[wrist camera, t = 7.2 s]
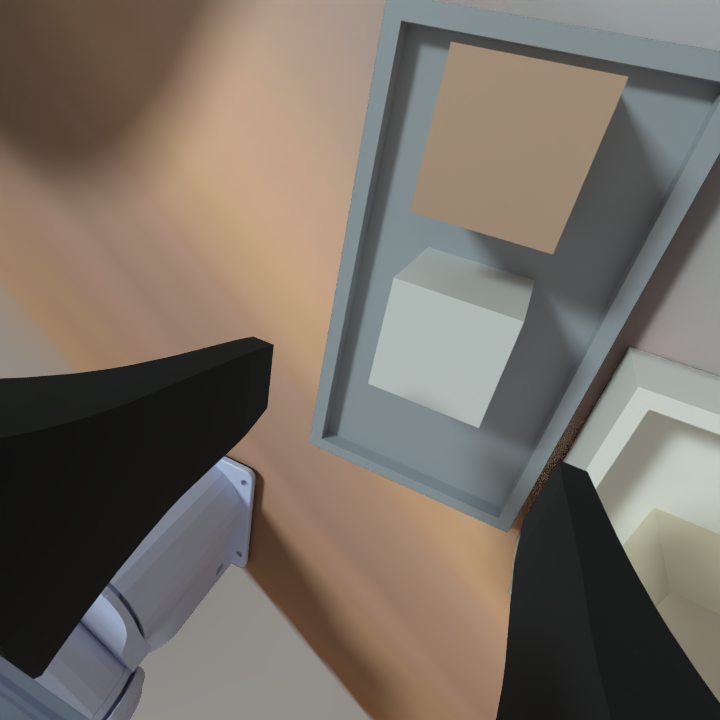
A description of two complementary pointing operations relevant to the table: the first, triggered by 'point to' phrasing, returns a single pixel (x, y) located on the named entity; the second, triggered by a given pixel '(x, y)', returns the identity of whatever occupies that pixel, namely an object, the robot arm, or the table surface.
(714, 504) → the dish
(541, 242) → the tan cube
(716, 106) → the parts tray
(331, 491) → the table surface
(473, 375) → the light grey cube
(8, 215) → the table surface
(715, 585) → the cream cube
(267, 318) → the table surface
